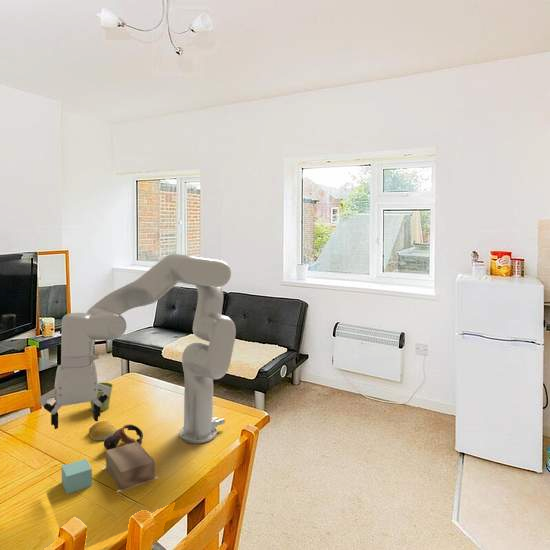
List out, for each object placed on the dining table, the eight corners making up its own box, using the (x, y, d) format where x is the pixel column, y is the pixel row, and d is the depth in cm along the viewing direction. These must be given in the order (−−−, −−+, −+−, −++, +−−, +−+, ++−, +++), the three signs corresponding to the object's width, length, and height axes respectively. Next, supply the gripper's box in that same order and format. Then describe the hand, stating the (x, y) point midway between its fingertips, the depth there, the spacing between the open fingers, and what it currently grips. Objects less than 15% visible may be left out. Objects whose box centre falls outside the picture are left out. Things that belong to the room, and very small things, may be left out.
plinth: (137, 457, 123) (137, 441, 122) (154, 478, 112) (154, 461, 112) (106, 467, 117) (105, 450, 116) (121, 490, 107) (121, 472, 106)
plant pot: (101, 415, 152) (101, 393, 151) (81, 411, 154) (80, 389, 154) (118, 406, 160) (118, 384, 160) (98, 402, 163) (98, 381, 162)
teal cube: (85, 479, 113) (85, 458, 113) (91, 490, 109) (91, 468, 108) (61, 487, 110) (61, 465, 109) (66, 498, 105) (66, 476, 104)
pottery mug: (123, 439, 136) (136, 419, 135) (138, 461, 131) (151, 441, 130) (92, 445, 126) (105, 424, 125) (106, 469, 121) (120, 447, 120)
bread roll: (94, 444, 132) (94, 432, 132) (86, 433, 139) (86, 422, 138) (120, 436, 137) (120, 425, 137) (111, 426, 144) (111, 415, 144)
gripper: (108, 353, 116) (107, 411, 118) (38, 360, 106) (37, 424, 108) (114, 360, 110) (113, 422, 111) (40, 368, 100) (40, 436, 102)
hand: (76, 423), depth 110 cm, fingers open, 9 cm apart
